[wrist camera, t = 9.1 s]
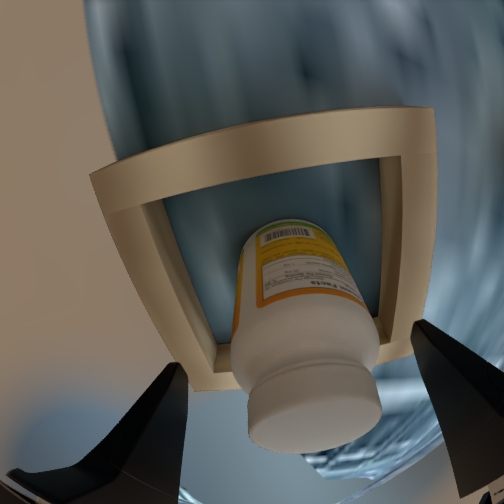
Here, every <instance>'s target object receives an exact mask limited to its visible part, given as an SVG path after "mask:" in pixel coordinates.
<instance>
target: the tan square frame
mask: <svg viewBox="0 0 504 504" xmlns="http://www.w3.org/2000/svg"><path fill="white" fill-rule="evenodd" d="M378 157H379V169H380V183H381V204H382V264H381V285H380V300H379V312H378V317H374V318H372V319H373V322H374V324H375V326H376V329H377V331H378V335H379V342H380V347H379V355H378V358H377V361H376V363H375V365H378V364H382V363H386V362H389V361H393V360H396V359H399V358H403V357H406V356H409V355H412V354H413V351H414V350H413V347H412V344H411V340H410V335H411V331H412V326H413V323H414V321H417V320H420V319H422V316H423V311H424V307H425V302H426V297H427V291H428V286H429V280H430V273H431V267H432V259H433V251H434V242H435V232H436V219H437V199H438V157H437V137H436V125H435V115H434V108H429V107H417V106H378V107H361V108H348V109H337V110H327V111H319V112H311V113H304V114H297V115H290V116H284V117H278V118H272V119H267V120H261V121H256V122H251V123H246V124H242V125H237V126H233V127H228V128H224V129H220V130H216V131H212V132H208V133H204V134H200V135H197V136H193V137H189V138H186V139H182V140H179V141H176V142H172V143H169V144H166V145H163V146H159V147H156V148H153V149H150V150H147V151H144V152H141V153H139V154H136V155H133V156H130V157H127V158H125V159H122V160H119V161H117V162H114V163H112V164H110V165H108V166H105V167H104V168H101V169H99V170H97V171H95V172H93V173H91V174H89V176H90V179H91V182H92V185H93V188H94V191H95V194H96V197H97V199H98V202H99V205H100V207H101V210H102V213H103V215H104V218H105V221H106V223H107V226H108V228H109V231H110V233H111V235H112V238H113V240H114V242H115V245H116V247H117V249H118V252H119V254H120V256H121V259H122V261H123V263H124V265H125V267H126V270H127V272H128V274H129V276H130V278H131V280H132V282H133V284H134V286H135V288H136V290H137V292H138V294H139V296H140V298H141V300H142V302H143V304H144V306H145V308H146V310H147V312H148V314H149V316H150V317H151V319H152V321H153V323H154V325H155V327H156V328H157V330H158V332H159V334H160V335H161V337H162V339H163V341H164V343H165V344H166V346H167V348H168V349H169V351H170V353H171V355H172V356H173V358H174V360H175V361H176V362H179V363H181V365H182V367H183V368H184V370H185V371H186V373H187V375H188V382H189V383H190V385H191V386H192V388H193V389H194V391H195V392H201V391H219V390H234V389H242V388H241V386H240V385H239V384H238V383H237V381H236V379H235V378H234V375H233V372H232V369H231V363H230V352H231V343H229V344H220V345H217V342H216V340H215V338H214V336H213V333H212V331H211V329H210V326H209V324H208V321H207V319H206V317H205V314H204V312H203V309H202V307H201V304H200V302H199V299H198V297H197V294H196V292H195V289H194V287H193V284H192V282H191V279H190V277H189V274H188V271H187V269H186V266H185V263H184V261H183V258H182V255H181V253H180V250H179V247H178V244H177V242H176V239H175V236H174V233H173V230H172V227H171V225H170V222H169V219H168V216H167V213H166V210H165V207H164V204H163V201H162V198H166V197H169V196H173V195H177V194H181V193H185V192H189V191H193V190H197V189H201V188H205V187H210V186H214V185H218V184H223V183H227V182H232V181H237V180H241V179H246V178H251V177H256V176H261V175H266V174H271V173H277V172H282V171H288V170H293V169H299V168H305V167H311V166H318V165H324V164H331V163H338V162H345V161H353V160H361V159H369V158H378ZM375 365H374V366H375Z"/></svg>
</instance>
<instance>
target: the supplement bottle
mask: <svg viewBox="0 0 504 504" xmlns="http://www.w3.org/2000/svg"><path fill="white" fill-rule="evenodd" d="M379 347H380V342H379V335H378V331H377V329H376V326H375V324H374V322H373V319H372V317H371V315H370V313H369V311H368V309H367V307H366V304H365V302H364V300H363V298H362V296H361V294H360V292H359V290H358V288H357V286H356V284H355V282H354V280H353V278H352V276H351V274H350V272H349V270H348V268H347V266H346V264H345V262H344V260H343V258H342V257H341V255H340V253H339V251H338V249H337V247H336V245H335V244H334V242H333V240H332V239H331V238H330V236H329V235H328V234H327V233H326V232H325V231H324V230H323V229H322V228H320V227H319V226H317V225H315V224H313V223H311V222H308V221H304V220H299V219H283V220H278V221H274V222H271V223H269V224H267V225H265V226H263V227H261V228H260V229H258V230H257V231H256V232H255V233H253V234H252V235H251V237H250V238H249V239H248V240H247V242H246V243H245V245H244V247H243V249H242V251H241V254H240V259H239V265H238V276H237V287H236V297H235V307H234V317H233V327H232V336H231V352H230V363H231V369H232V372H233V375H234V378H235V379H236V381H237V383H238V384H239V385H240V386H241V388H242V389H243V390H244V391H245V392H247V393H248V394H249V400H248V405H247V407H248V434H249V438H250V439H251V440H252V442H253V443H254V444H256V445H257V446H259V447H261V448H263V449H266V450H269V451H273V452H279V453H291V454H292V453H293V454H300V453H312V452H318V451H323V450H328V449H331V448H335V447H338V446H341V445H344V444H346V443H349V442H351V441H353V440H355V439H357V438H359V437H361V436H362V435H364V434H366V433H367V432H368V431H370V430H371V429H372V428H373V427H374V426H375V425H376V424H377V422H378V421H379V420H380V417H381V415H382V406H381V402H380V399H379V395H378V391H377V387H376V383H375V380H374V378H373V376H372V375H371V373H370V372H371V371H372V369H373V368H374V365H375V363H376V361H377V358H378V355H379Z"/></svg>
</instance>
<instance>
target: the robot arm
mask: <svg viewBox="0 0 504 504" xmlns="http://www.w3.org/2000/svg"><path fill="white" fill-rule="evenodd" d="M410 340H411V344H412V347H413V350H414V354H415V357H416V360H417V364H418V367H419V371H420V374H421V377H422V379H423V382H424V384H425V387H426V389H427V392H428V394H429V397H430V400H431V402H432V405H433V408H434V410H435V413H436V416H437V419H438V422H439V425H440V428H441V431H442V434H443V437H444V440H445V443H446V447H447V450H448V453H449V456H450V460H451V464H452V468H453V472H454V476H455V479H456V484H457V488H458V492H459V496H460V499H461V498H463V497H465V496H467V495H469V494H471V493H473V492H475V491H477V490H479V489H481V488H483V487H484V486H486V485H488V487H489V491H488V492H486V493H485V494H484V495H483V496H482V499H481V501H480V502H479V504H504V372H502V371H501V370H499V369H498V368H496V367H495V366H493V365H492V364H491V363H489V362H487V361H486V360H485V359H483V358H482V357H480V356H479V355H477V354H476V353H474V352H473V351H472V350H470V349H469V348H467V347H466V346H464V345H463V344H461V343H460V342H458V341H457V340H455V339H454V338H452V337H451V336H449V335H448V334H446V333H445V332H443V331H442V330H440V329H439V328H437V327H436V326H434V325H432V324H431V323H429V322H428V321H426V320H425V319H420V320H417V321H414V323H413V326H412V331H411V335H410ZM187 415H188V375H187V373H186V371H185V370H184V368H183V367H182V365H181V363H179V362H171V363H169V364H168V365H167V366H166V367H165V368H164V369H163V371H162V372H161V373H160V374H159V375H158V376H157V378H156V379H155V380H154V381H153V382H152V384H151V385H150V386H149V387H148V388H147V389H146V391H145V392H144V393H143V394H142V395H141V397H140V398H139V399H138V400H137V401H136V402H135V404H134V405H133V406H132V407H131V408H130V409H129V411H128V412H127V413H126V414H125V415H124V417H123V418H122V419H121V420H120V421H119V423H118V424H117V425H116V426H115V427H114V428H113V429H112V430H111V431H110V433H109V434H108V435H107V436H106V437H105V438H104V439H103V440H102V441H101V442H100V443H99V444H98V445H97V446H96V447H95V448H94V449H92V450H91V452H89V453H88V454H87V455H86V456H85V457H84V458H83V459H82V460H80V461H79V462H78V463H76V464H74V465H72V466H70V467H65V468H61V469H55V470H50V471H44V472H38V473H27V472H24V471H23V470H21V469H19V468H16V469H12V470H10V471H8V472H7V473H6V476H8V477H9V478H10V479H12V480H13V481H15V482H16V483H18V484H19V485H21V486H22V487H24V488H25V489H27V490H28V491H30V492H31V493H33V494H35V495H36V496H37V500H34V499H32V498H30V497H28V496H27V495H25V494H23V493H21V492H19V491H18V490H16V489H14V488H13V487H11V486H9V485H8V484H6V483H4V482H3V481H1V480H0V504H178V496H179V486H180V475H181V466H182V456H183V448H184V439H185V431H186V422H187Z"/></svg>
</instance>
